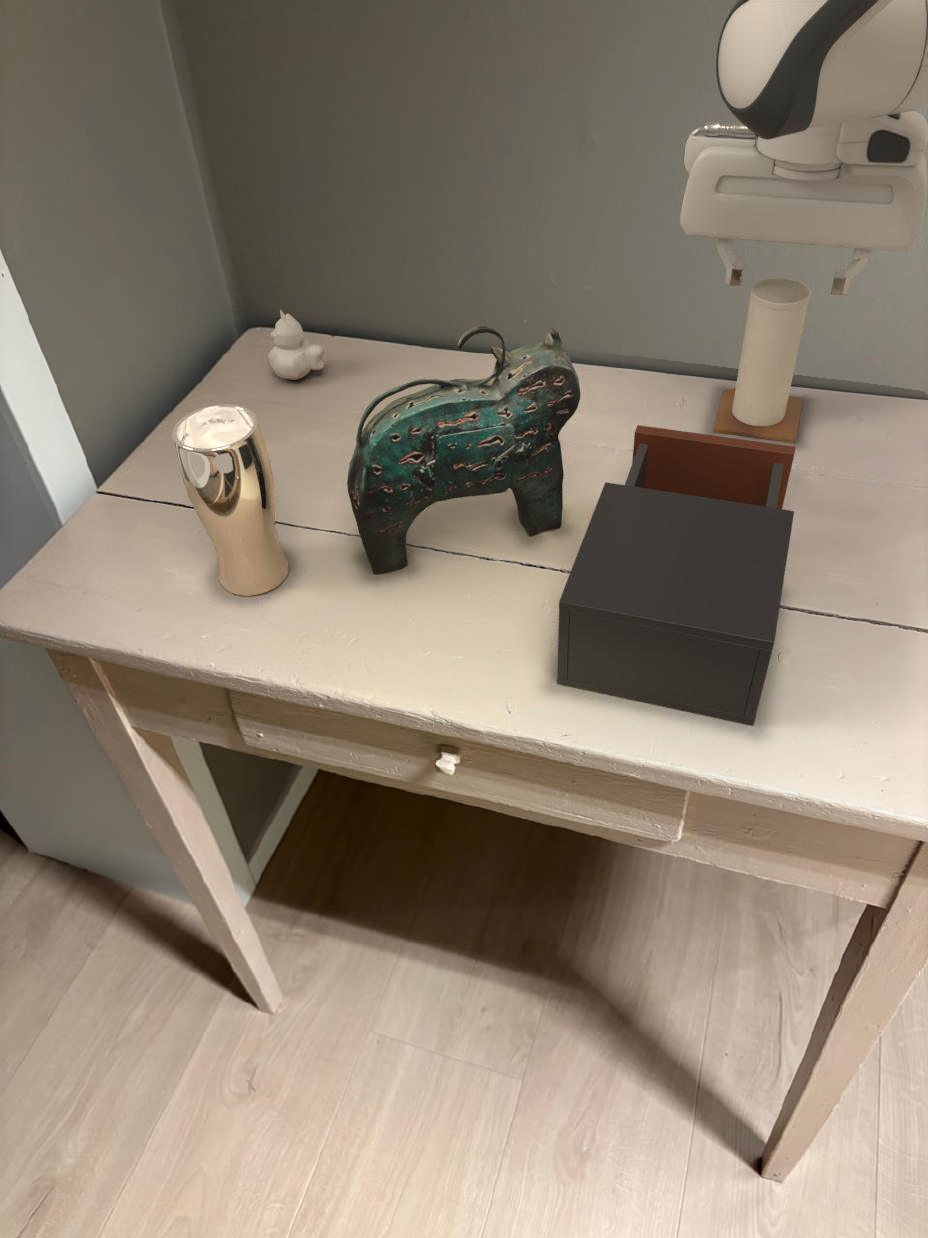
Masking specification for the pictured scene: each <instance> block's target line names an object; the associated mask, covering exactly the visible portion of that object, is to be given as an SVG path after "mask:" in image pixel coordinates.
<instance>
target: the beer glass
mask: <svg viewBox="0 0 928 1238" xmlns="http://www.w3.org/2000/svg"><path fill="white" fill-rule="evenodd" d="M258 419H259V418H258V416H257V415H256V413H255V412H253V411H252V410H251V409H249V408H248V407H245V406H242V405H238V404H232V403H224V404H223V403H222V404H213V405H208V406H204V407H200V408H198V409H195V410H193V411H191V412H189V413H187V414H185V415H184V416H182V417H181V418H180V419H179V420H178V421H177V422H176V423H175V425H174V427H173V429H172V432H171V434H172V435H171V436H172V439H173V442H174V447H175V452H176V457H177V462H178V466H179V470H180V474H181V477H182V482H183V485H184V487H185V490H186V493H187V496H188V498H189V500H190V502H191V505H192V507H193V509H194V511H195V513H196V514H197V517H198V518H199V520H200V522H201V524H202V525H203V527H204V530H205V531H206V532H207V534H208V536H209V539H210V540H211V542H212V545H213V547H214V551H215V553H216V560H217V571H218V580H219V583H220V585H221V586H222V587H223V589H224V590H226V592H228V593H231V594H233V595H237V596H243V597H250V596H258V595H262V594H265V593H268V592H271V591H272V590H275V589H276V588H278V587H279V586H280V585H281V584H282V583H283V582H284V581H285V580H286V578H287V576H288V574H289V569H290V567H289V566H290V563H289V562H288V558H287V556H286V553H285V552H284V550H283V548H282V546H281V544H280V541H279V538H278V535H277V528H276V499H275V483H274V475H273V469H272V464H271V460H270V459H271V458H270V455H269V452H268V449H267V445H266V442H265V439H264V436H263V433H262V429H261V427H260V424H259V420H258Z"/></svg>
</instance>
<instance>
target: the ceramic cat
mask: <svg viewBox="0 0 928 1238" xmlns="http://www.w3.org/2000/svg"><path fill="white" fill-rule="evenodd" d="M487 333H488V334H492V335H494V336H495V337H497V338H498V339H499V340H500V343H501V347H502V348H501V347H496V346H490V351H491V353H492V355H493V357H494V358H495V359H496V361H495V364H494V368H493V370H492V374H491V375H489V376H488V377H486V378H481V379H469V378H454V379H449V380H444V379H443V380H442V379H437V378H436V379H435V378H432V379H426V378H421V379H416V380H413V381H410V382H406V383H403V384H400V385H398V386H396V387H393V388H391V389H389V390H387V391H385V392H383V393H381V394H380V395H378V396H376V397H375V398H373V400H372V401H371V402H370V403H369V404H368V406H366V408H365V410H364V411H363V414H362V416H361V418H360V421H359V425H358V429H357V433H356V437H355V443H356V444H355V448H354V451H353V454H352V457H351V458H350V462H349V466H348V472H347V482H346V485H347V493H348V497H349V501H350V505H351V510H352V513H353V515H354V518H355V523H356V526H357V531H358V533H359V536H360V540H361V543H362V546H363V549H364V551H365V554H366V558H367V560H368V563H369V564H370V567H371V570H372V574H374V575H380V574H386V573H391V572H395V571H398V570H399V571H400V570H402V569H404V568H405V567H407V566H408V565H409V564H408V563H409V561H408V554H407V535H408V532H409V530H410V527H411V526H412V524H414V521H415V520H416V518H418V516H419V515H420V514H421V513H422V512H424V511H425V510H426V509H427V508H429V507H431V506H432V505H434V504H435V503H439V502H444V501H445V502H446V501H449V500H453V499H461V498H467V497H480V496H488V495H497V494H503V493H506V492H508V490H509V489H510V490H511V492H512V494H513V498H514V501H515V503H516V507H517V515H518V520H519V523H520V524H521V526H522V527H523V528H524V530H525V531H526V533H527V535H528V537H529V538H530V537H533V536H535V535H538V534H540V533H543V532H547V531H552V530H558V529H561V527H562V525H563V524H562V523H563V521H562V520H563V508H564V506H563V504H564V503H563V502H564V499H563V496H564V495H563V494H564V493H563V491H564V490H563V488H564V487H563V486H564V485H563V484H564V476H565V475H564V474H565V473H564V465H563V464H564V463H563V455H562V447H561V441H560V438H559V435H560V433H561V431H562V430H563V428H564V427H565V425H566V424H567V422H568V421H569V420H570V419H571V418H572V417H573V415H574V414H575V413H576V411H577V409H578V407H579V404H580V401H581V388H580V379H579V375H578V373H577V371H576V369H575V367H574V365H573V363H572V361H571V359H570V357H569V356H568V355H567V353H566V352H565V349H564V346H563V343H562V339H561V337H560V333H559V332H558V331H557V330H555V329H554V328H551V329H549V332H548V333H547V335H546V338H545V339H544V340H543V341H542V342H533V343H530V344H525V345H522V346H519V347H517V348H513V349H512V350H511V351H507V350H506V345H505V341H504V338H503V336H502V334H501V333H500V332H499V331H498V330H497V329H494V328H493V327H489V326H485V325H478V326H475V327H472V328H470V329H468V330H466V331H465V332H464V333H463V334H462V335H461V337H460V338H459V340H458V343H457V345H456V347H457V348H458V349H459V351H462V348H463V346H464V345H465V344H466V342H467V341H469V339H471V338H472V337H474V336H475V335H479V334H487ZM423 385H431V386H428V387H426V388H424V389H422V390H419V391H417V392H414V393H411V394H407V395H404V396H401V397H399V398H396V399H394V400H393V401H391V402H389V403H388V404H387V405H386V406H385V407H384V408H383V409H382V410H380V411H378V412H377V413H376V414H375V415H373V416H372V418H371V419H370V420H369V421H368V422H367V424H366V425H365V423H366V421H367V420H368V418H369V416H370V415H371V414H372V412H373V411H374V410H375V408H376V407H377V406H378V405H379V404H380V403H381V402H383V401H384V400H386V399H387V398H389V397H392V396H394V395H396V394H398V393H400V392H403V391H405V390H407V389H409V388H413V387H418V386H423ZM364 426H365V427H364Z"/></svg>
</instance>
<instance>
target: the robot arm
mask: <svg viewBox="0 0 928 1238" xmlns="http://www.w3.org/2000/svg"><path fill="white" fill-rule="evenodd" d="M715 75H716V82H717V87H718V91H719V94H720V96H721V99H722V101H723V103H724V104H725V106H726V107H727V108H728V110H729V111H730V112H731V114H732V115H733V116H734V117H735V118H736V119H737V120H738V121H739V122H733V123H732V122H731V123H730V122H729V123H725V122H721V121H708V122H705V123H704V126H699V127H697V128H695V129H694V130H692V131H691V132H690V133H689V135H688V136H687V138H686V140H685V142H684V143H685V144H684V150H683V151H684V152H683V167H684V170H685V171H686V173H687V174H688V179H687V182H686V186H685V190H684V194H683V199H682V204H681V209H680V217H679V226H680V227H681V229H682V231H683V232H684V235H686V236H688V237H697V238H711V239H717V244H716V251H717V253H718V256H719V257H720V259H721V262H722V264H723V266H724V268H725V269H726V271H725V278H724V286H734V287H742V283H743V279H744V271H745V265H746V261H745V260H737V258H736V256H735V253H734V250H733V248H734V246H735V242H736V240H737V241H751V242H763V243H764V242H765V243H777V244H792V245H805V246H806V245H807V246H819V247H820V246H821V247H833V248H847V249H853V255H852V260H851V261H850V262H849V264H847V266H846V267H845V268H835V271H834V275H833V280H832V285H831V292H830V295H835V296H836V295H837V296H848V295H849V292H850V289H851V283H852V280H853V279H854V278H855V277H856V276H857V275H858V274H859V273H860V272H861V270H863V268H864V267H866V265H867V264H868V263H869V262H870V259H871V255H872V251H873V250H876V251H890V252H900V253H901V252H903V253H905V252H908V251H909V250H911V249H912V248H913V247H915V245H916V244H918V243H919V241H920V240H921V235H922V230H923V227H924V222H925V221H924V220H925V215H926V213H925V212H926V206H927V196H928V165H927V161H926V160H927V159H926V157H925V152H926V149H927V147H928V122H927V120H926V118H925V116H924V115H923V114H921V113H920V112H917V111H921V110H924V109H928V0H736V1H735V3H734V5H733V6H732V8H731V9H730V12H729V14H728V16H727V17H726V19H725V21H724V23H723V26H722V28H721V31H720V35H719V39H718V43H717V48H716V57H715ZM700 133H703V134H700Z"/></svg>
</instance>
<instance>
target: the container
mask: <svg viewBox="0 0 928 1238" xmlns="http://www.w3.org/2000/svg"><path fill="white" fill-rule="evenodd" d="M749 291H750V292H749V297H750V298H749V305H748V311H747V316H746V322H745V323H746V325H745V329H744V335H743V341H742V348H741V354H740V359H739V364H738V372H737V376H736V377H737V378H736V383H735V395H734V401H733V407H732V413H733V415H734V417H735V418H736V419H738V420H739V421H741V422H743V423H745V424H748V425H752V426H771V425H775V424H777V423H779V422H780V421H782V420H783V418H784V416H785V412H786V407H787V402H788V397H789V396H790V394H791V393H790V392H791V387H792V384H793V379H794V373H795V368H796V363H797V359H798V355H799V350H800V345H801V340H802V336H803V330H804V327H805V326H804V325H805V320H806V315H807V311H808V307H809V303H810V301H811V298H812V290H811V288H810V287H809V286H808V285H806V284H805V283H803V282H801V281H799V280H794V279H790V278H784V277H783V278H782V277H772V278H764V279H761V280H759V281H758V280H757V282H755V283H754V284H752V286H751V287H750V290H749Z"/></svg>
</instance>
